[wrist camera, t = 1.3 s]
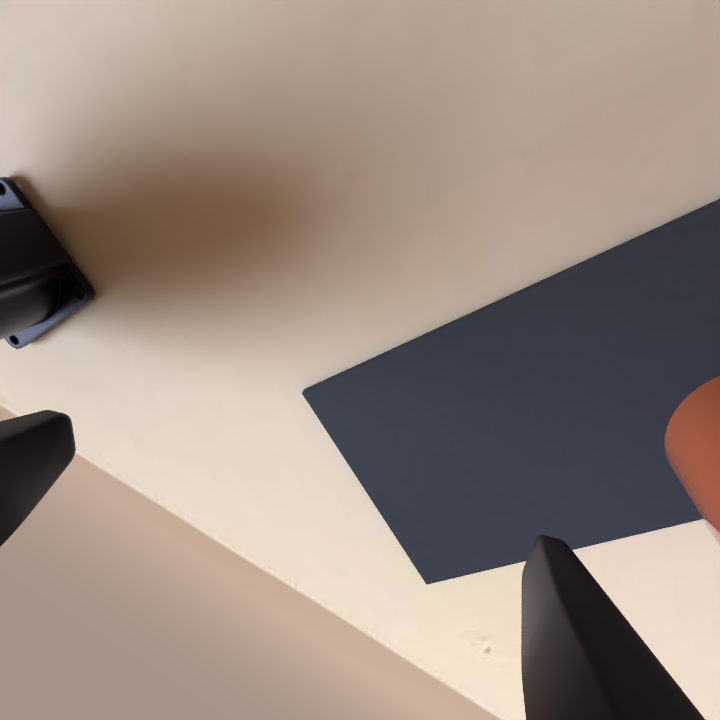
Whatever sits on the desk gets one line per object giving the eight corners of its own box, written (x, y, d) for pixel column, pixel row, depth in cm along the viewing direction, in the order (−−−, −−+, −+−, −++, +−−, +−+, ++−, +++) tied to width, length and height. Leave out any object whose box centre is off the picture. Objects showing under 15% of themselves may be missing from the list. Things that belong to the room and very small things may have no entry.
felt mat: (427, 579, 27) (426, 584, 26) (304, 389, 23) (301, 392, 23) (874, 470, 19) (882, 477, 19) (788, 167, 16) (795, 168, 15)
